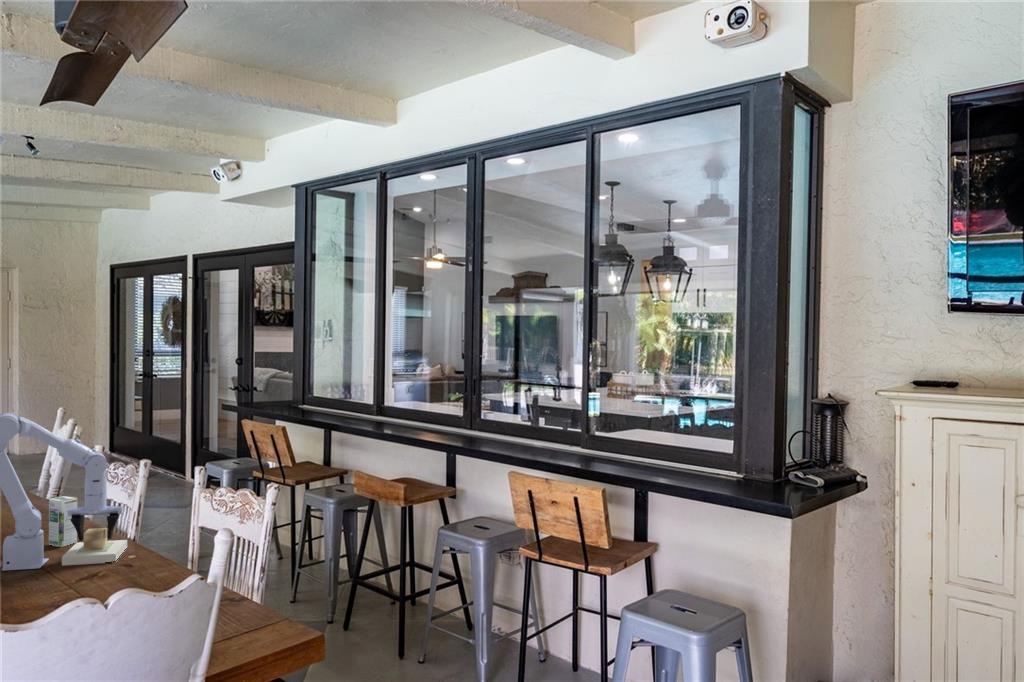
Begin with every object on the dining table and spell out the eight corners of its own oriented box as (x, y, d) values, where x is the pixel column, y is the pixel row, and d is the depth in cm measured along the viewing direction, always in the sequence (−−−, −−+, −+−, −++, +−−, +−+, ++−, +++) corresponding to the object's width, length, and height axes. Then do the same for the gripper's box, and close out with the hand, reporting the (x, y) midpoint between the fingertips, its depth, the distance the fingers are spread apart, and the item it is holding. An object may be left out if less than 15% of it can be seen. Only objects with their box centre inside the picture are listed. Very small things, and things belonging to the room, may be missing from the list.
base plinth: (61, 565, 217) (61, 555, 216) (76, 550, 230) (76, 541, 230) (115, 562, 220) (115, 552, 220) (127, 547, 234) (127, 538, 234)
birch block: (83, 550, 222) (83, 533, 221) (88, 545, 226) (88, 528, 226) (102, 549, 223) (102, 532, 223) (107, 544, 228) (106, 527, 228)
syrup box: (47, 545, 235) (47, 499, 234) (65, 540, 240) (65, 495, 240) (60, 548, 233) (60, 501, 232) (78, 542, 238) (78, 496, 237)
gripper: (63, 497, 219) (64, 544, 219) (119, 495, 222) (119, 541, 223) (71, 492, 226) (71, 537, 226) (124, 490, 229) (125, 534, 230)
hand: (95, 538), depth 225 cm, fingers open, 7 cm apart
